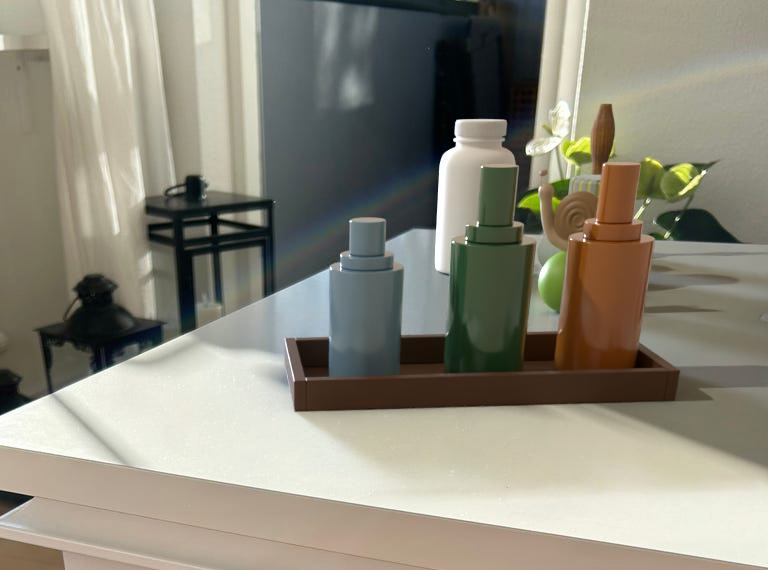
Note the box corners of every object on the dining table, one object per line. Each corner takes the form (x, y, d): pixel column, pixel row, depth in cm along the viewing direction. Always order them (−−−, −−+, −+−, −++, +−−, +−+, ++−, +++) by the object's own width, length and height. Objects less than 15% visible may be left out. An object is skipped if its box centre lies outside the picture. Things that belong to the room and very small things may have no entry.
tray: (615, 366, 79) (621, 329, 77) (673, 411, 69) (680, 370, 67) (284, 375, 78) (284, 337, 76) (294, 422, 68) (294, 380, 66)
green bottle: (510, 369, 75) (531, 161, 68) (530, 390, 71) (555, 169, 64) (435, 371, 75) (448, 162, 68) (450, 393, 70) (466, 170, 63)
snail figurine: (535, 302, 99) (550, 166, 93) (601, 309, 96) (621, 169, 90) (516, 313, 95) (530, 172, 89) (585, 320, 92) (604, 175, 86)
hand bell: (583, 264, 116) (602, 106, 108) (539, 253, 123) (554, 103, 115) (640, 258, 119) (664, 103, 111) (594, 247, 126) (613, 101, 118)
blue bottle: (393, 373, 75) (399, 213, 69) (404, 393, 70) (411, 224, 65) (325, 375, 75) (326, 215, 69) (332, 395, 70) (333, 226, 65)
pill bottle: (491, 263, 117) (503, 116, 110) (517, 275, 111) (531, 120, 103) (425, 266, 116) (432, 118, 109) (446, 279, 109) (456, 122, 102)
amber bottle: (617, 366, 76) (648, 158, 69) (644, 387, 71) (681, 166, 64) (543, 368, 76) (566, 160, 69) (565, 390, 71) (593, 168, 64)
